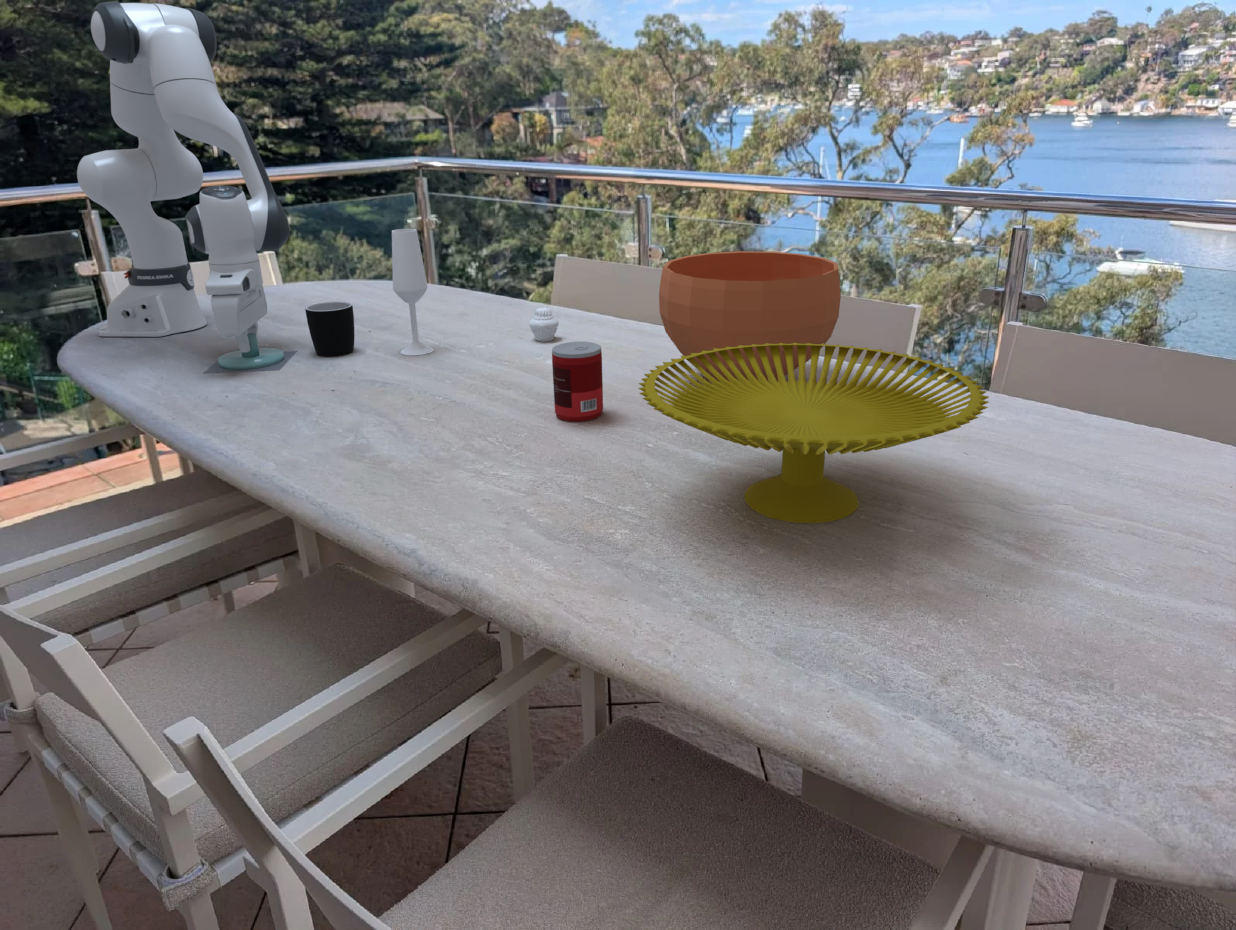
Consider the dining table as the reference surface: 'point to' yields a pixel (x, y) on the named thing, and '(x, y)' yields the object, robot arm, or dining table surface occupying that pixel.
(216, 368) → the mat
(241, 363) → the lid
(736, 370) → the cake stand
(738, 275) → the bowl
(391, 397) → the dining table surface
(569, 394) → the canned food
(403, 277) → the champagne flute
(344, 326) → the mug
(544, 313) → the white ridged rounded piece
